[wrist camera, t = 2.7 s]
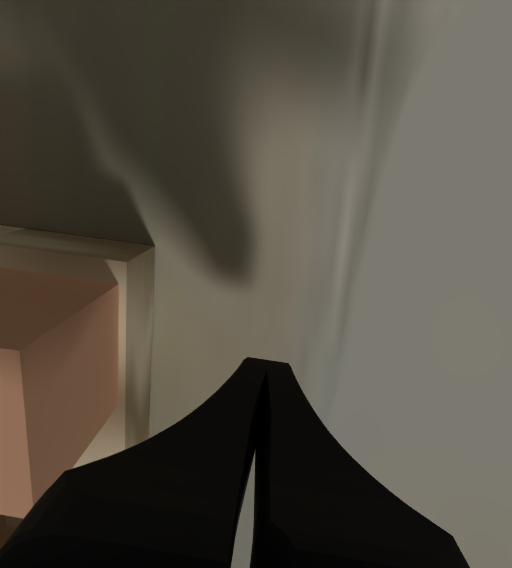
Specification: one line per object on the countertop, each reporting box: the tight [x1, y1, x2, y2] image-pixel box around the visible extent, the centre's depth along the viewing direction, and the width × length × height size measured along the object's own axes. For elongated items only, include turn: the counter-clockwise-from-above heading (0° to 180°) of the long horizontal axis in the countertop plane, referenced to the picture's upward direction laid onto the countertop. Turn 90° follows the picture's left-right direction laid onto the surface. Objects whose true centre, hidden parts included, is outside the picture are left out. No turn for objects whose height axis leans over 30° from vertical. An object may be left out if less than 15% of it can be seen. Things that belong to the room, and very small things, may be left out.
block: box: [0, 267, 119, 519], centre depth 10 cm, size 4×4×4 cm
